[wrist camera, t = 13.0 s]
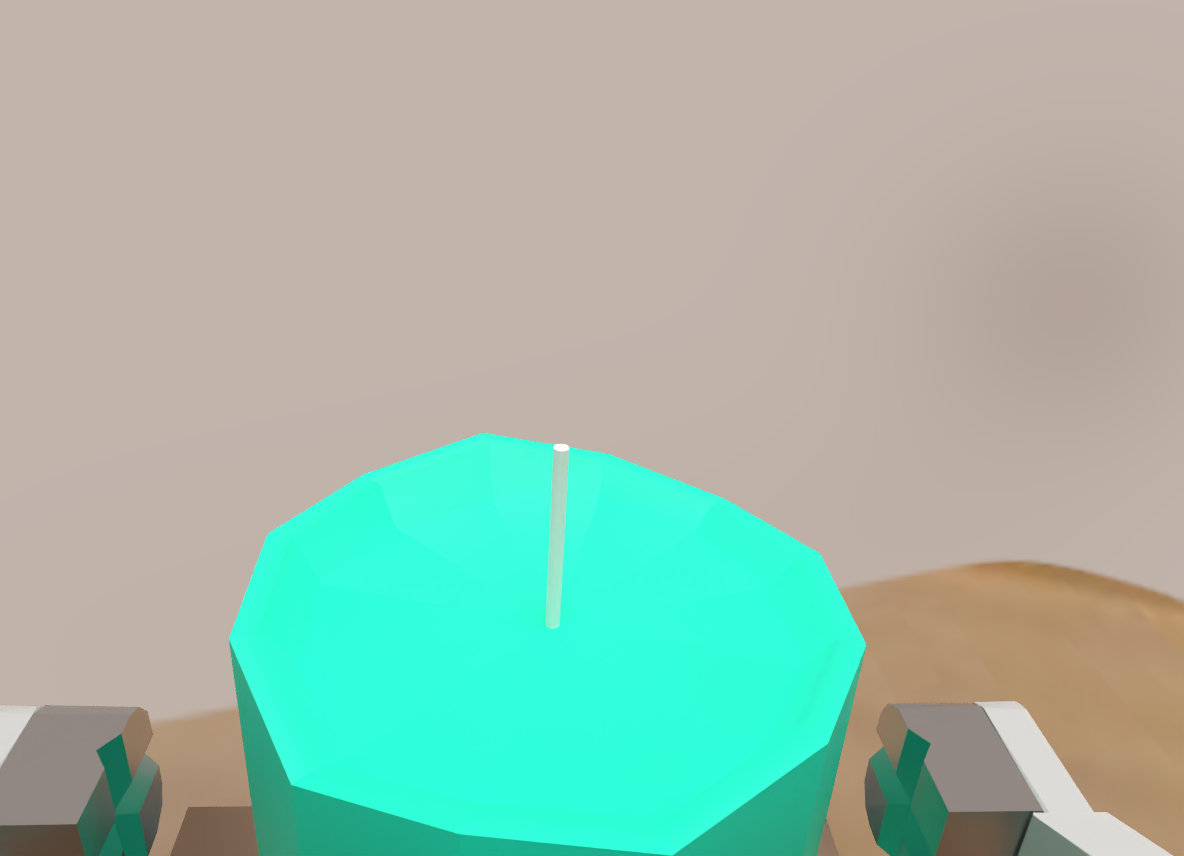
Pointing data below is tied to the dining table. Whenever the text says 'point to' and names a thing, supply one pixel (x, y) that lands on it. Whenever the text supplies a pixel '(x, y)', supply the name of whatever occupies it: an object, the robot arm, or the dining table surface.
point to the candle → (539, 666)
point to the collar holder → (229, 846)
